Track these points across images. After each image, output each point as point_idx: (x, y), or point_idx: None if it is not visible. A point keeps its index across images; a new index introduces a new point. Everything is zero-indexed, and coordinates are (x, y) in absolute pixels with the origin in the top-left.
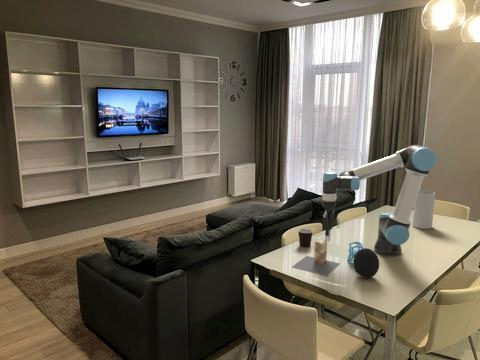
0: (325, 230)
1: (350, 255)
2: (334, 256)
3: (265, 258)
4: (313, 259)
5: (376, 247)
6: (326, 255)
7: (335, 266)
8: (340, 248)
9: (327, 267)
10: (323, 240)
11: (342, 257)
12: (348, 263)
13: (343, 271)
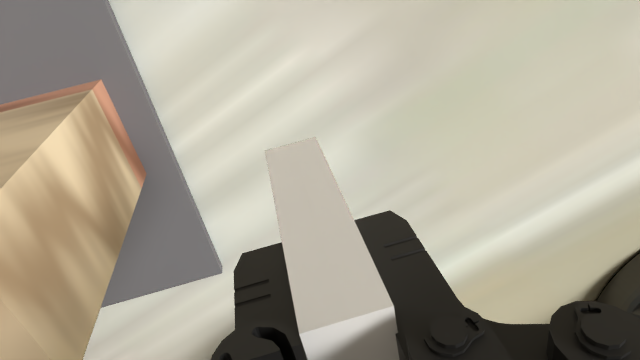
0: (298, 312)
1: None
2: (347, 124)
3: None
4: (45, 41)
5: None
6: (130, 212)
7: (130, 287)
8: (587, 30)
9: None
10: (6, 351)
11: (377, 184)
12: None
13: (131, 347)
